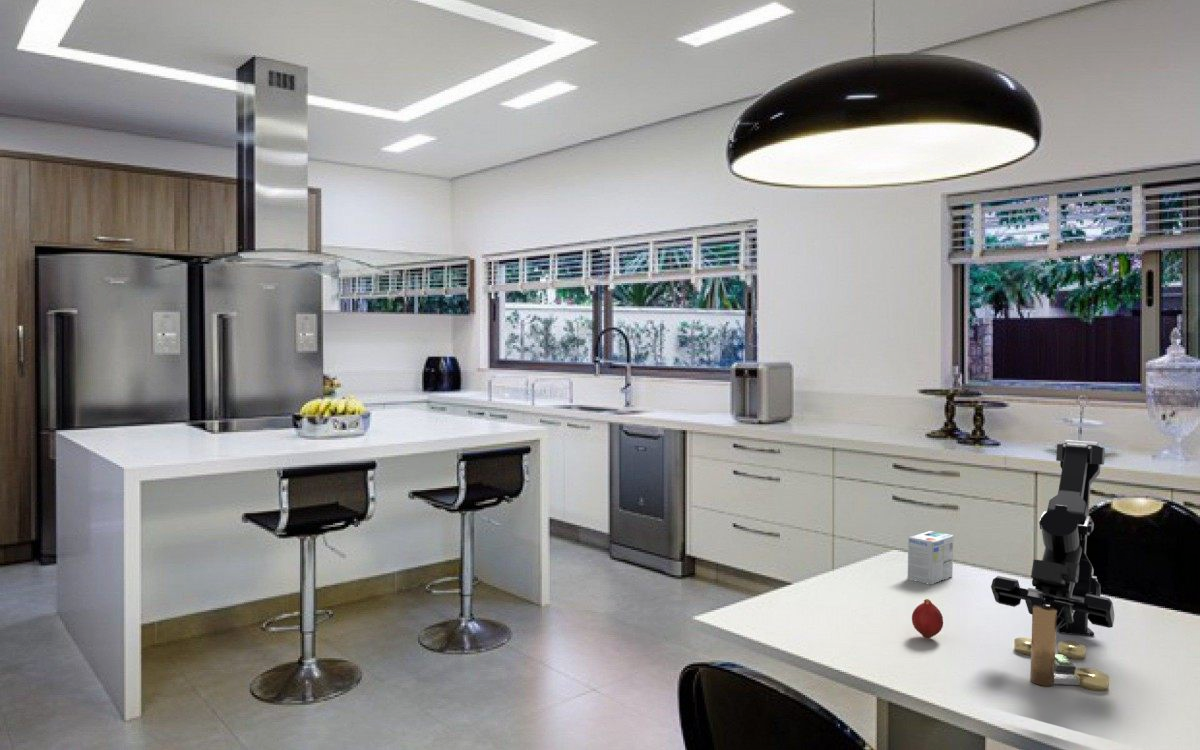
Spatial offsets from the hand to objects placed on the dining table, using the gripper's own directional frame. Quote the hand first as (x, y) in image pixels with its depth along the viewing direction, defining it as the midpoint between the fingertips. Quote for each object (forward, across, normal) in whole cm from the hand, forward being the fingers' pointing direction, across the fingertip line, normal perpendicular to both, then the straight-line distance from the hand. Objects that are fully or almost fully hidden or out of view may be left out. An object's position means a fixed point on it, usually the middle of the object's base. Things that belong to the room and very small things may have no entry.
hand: (1040, 643), depth 140 cm
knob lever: (+4, +4, +5) cm, 7 cm away
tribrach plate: (0, +2, +11) cm, 11 cm away
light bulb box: (-30, -36, +42) cm, 63 cm away
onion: (-1, -22, +12) cm, 25 cm away
